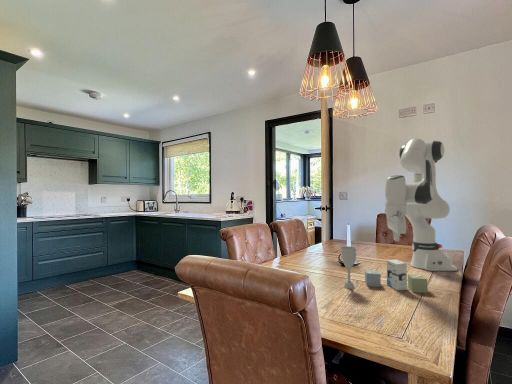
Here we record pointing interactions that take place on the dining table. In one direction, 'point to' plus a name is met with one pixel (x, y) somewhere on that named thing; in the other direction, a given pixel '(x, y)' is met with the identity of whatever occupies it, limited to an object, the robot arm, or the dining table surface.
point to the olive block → (417, 283)
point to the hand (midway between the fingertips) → (396, 240)
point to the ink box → (397, 274)
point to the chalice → (348, 263)
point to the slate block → (372, 278)
